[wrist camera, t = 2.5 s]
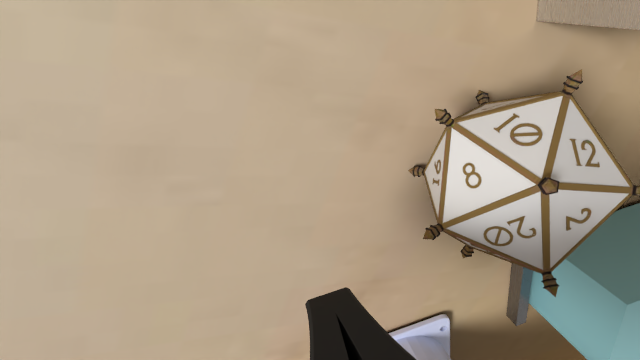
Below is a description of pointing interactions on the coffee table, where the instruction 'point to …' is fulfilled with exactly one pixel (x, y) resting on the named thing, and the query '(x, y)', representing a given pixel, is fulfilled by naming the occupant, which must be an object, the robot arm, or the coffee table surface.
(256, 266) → the coffee table surface
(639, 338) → the block
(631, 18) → the press frame
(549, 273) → the game die
